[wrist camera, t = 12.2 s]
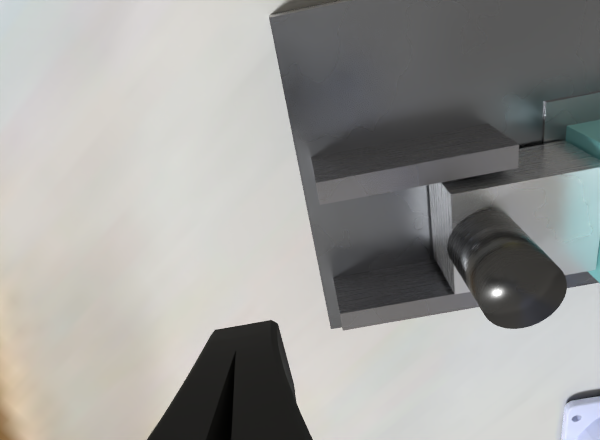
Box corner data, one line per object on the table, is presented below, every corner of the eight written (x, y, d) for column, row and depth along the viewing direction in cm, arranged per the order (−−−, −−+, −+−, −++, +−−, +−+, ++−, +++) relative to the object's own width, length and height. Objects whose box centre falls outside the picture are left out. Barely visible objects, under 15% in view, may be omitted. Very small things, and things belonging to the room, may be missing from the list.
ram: (556, 234, 19) (656, 325, 14) (428, 257, 19) (481, 354, 14) (564, 140, 17) (682, 206, 12) (422, 166, 17) (480, 242, 12)
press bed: (698, 246, 21) (773, 294, 18) (328, 312, 22) (337, 368, 19) (781, -91, 15) (915, -110, 12) (269, 14, 16) (267, 24, 13)
